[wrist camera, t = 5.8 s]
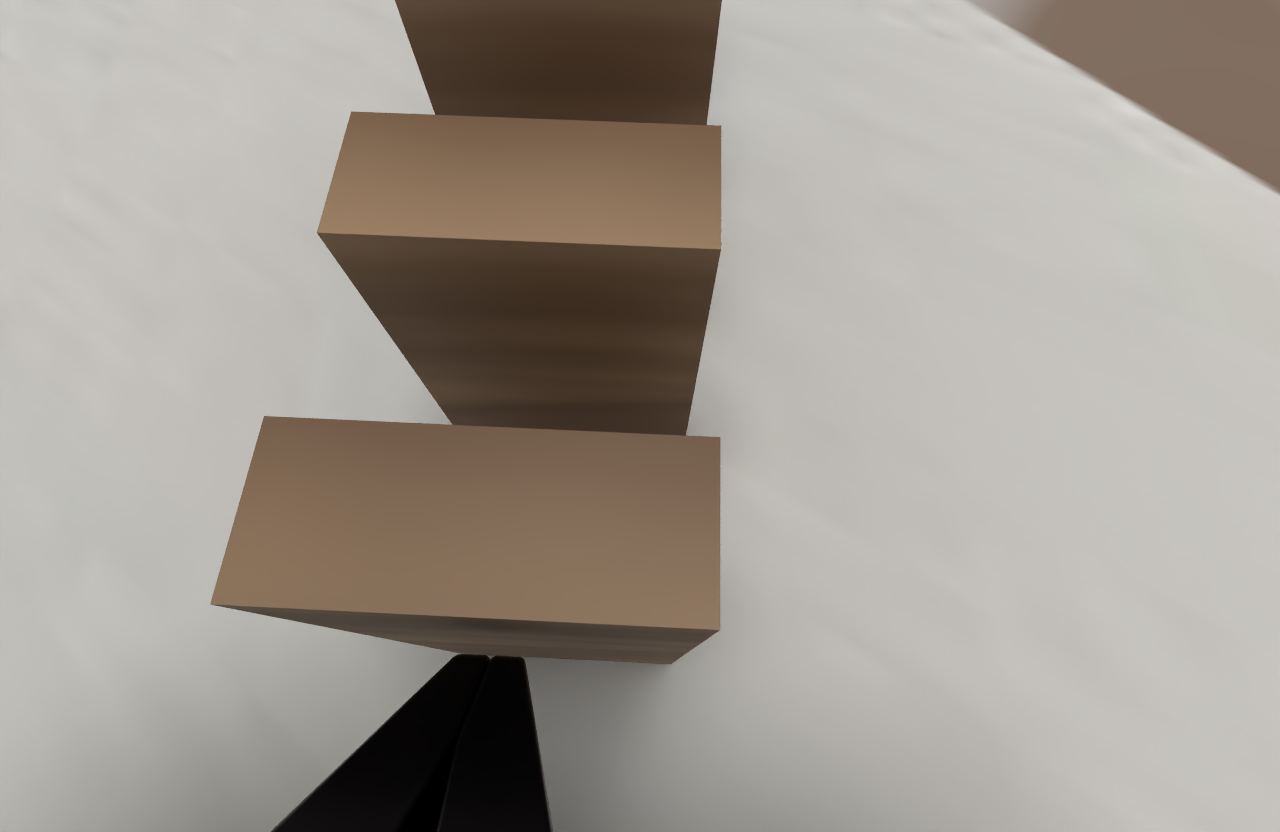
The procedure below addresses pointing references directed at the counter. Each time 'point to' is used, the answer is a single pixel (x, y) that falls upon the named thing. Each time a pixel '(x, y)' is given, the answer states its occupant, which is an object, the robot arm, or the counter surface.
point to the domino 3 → (482, 537)
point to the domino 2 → (535, 262)
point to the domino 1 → (566, 58)
